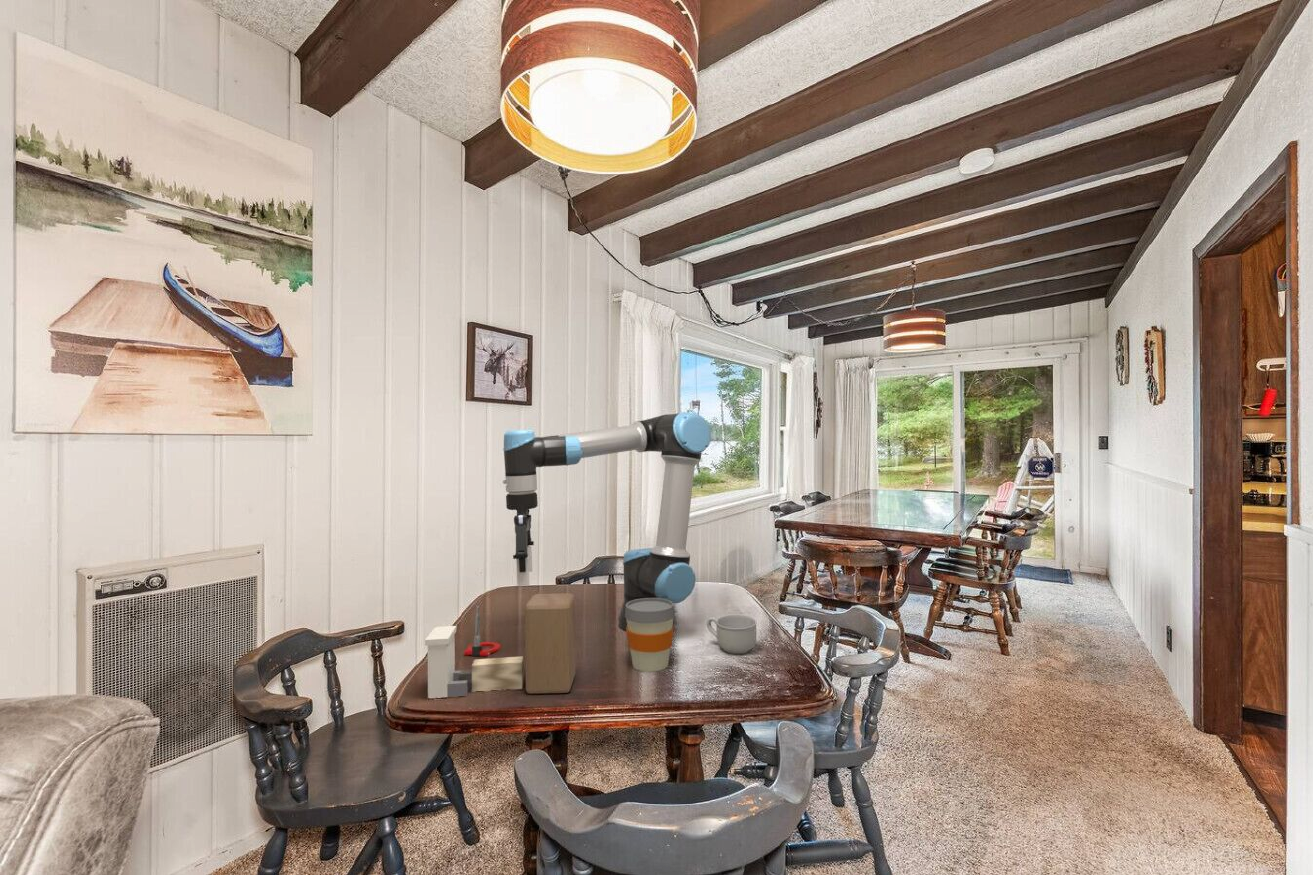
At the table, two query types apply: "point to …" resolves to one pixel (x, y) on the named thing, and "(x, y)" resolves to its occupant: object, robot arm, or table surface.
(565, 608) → the block
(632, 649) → the reusable coffee cup
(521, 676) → the rail
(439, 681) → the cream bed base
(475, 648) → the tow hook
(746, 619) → the teacup
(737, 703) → the table surface
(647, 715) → the table surface
